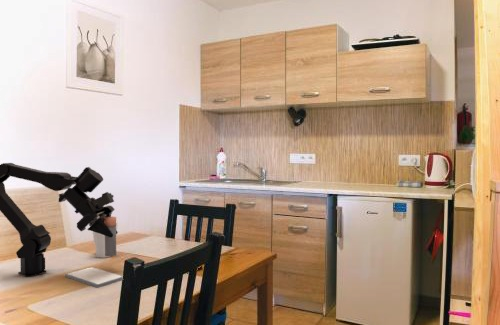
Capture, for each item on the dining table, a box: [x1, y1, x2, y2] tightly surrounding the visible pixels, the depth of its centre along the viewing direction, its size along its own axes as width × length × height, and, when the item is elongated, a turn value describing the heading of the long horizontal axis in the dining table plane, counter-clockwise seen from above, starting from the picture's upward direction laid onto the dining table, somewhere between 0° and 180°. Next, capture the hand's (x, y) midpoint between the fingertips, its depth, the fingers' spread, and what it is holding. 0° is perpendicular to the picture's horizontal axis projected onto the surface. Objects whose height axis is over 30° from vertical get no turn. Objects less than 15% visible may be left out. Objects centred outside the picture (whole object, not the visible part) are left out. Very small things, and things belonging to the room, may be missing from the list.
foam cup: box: [92, 220, 118, 258], centre depth 158 cm, size 10×9×13 cm
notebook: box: [64, 266, 123, 289], centre depth 131 cm, size 10×18×1 cm, turn 55°
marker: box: [104, 216, 117, 257], centre depth 134 cm, size 4×4×12 cm
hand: (114, 235), depth 134 cm, fingers closed on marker, 4 cm apart
